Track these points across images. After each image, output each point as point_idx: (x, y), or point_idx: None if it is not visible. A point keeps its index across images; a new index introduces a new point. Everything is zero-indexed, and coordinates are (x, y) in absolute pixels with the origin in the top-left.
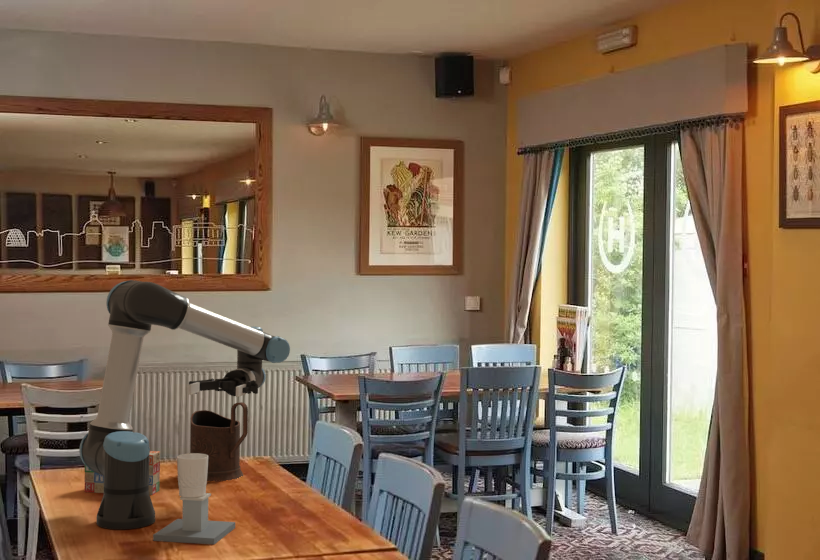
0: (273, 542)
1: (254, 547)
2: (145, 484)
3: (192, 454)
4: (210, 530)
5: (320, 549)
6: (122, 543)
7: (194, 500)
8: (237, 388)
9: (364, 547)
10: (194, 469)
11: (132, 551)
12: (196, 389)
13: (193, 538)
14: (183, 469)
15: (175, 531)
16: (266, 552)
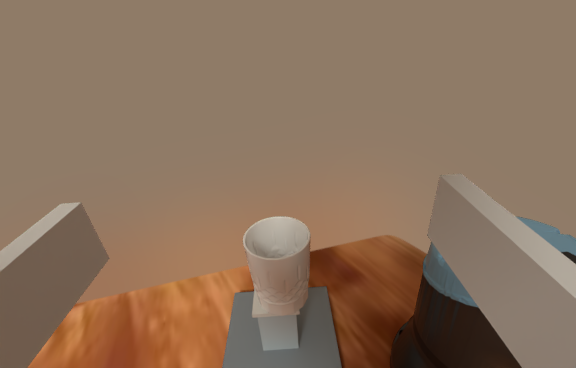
0: (148, 330)
1: (178, 301)
2: (416, 323)
3: (289, 256)
4: (251, 327)
5: (82, 316)
6: (357, 273)
7: None
8: (74, 213)
9: None
10: (265, 236)
11: (324, 254)
12: (509, 311)
13: None
14: (286, 233)
15: (303, 307)
16: (162, 287)
